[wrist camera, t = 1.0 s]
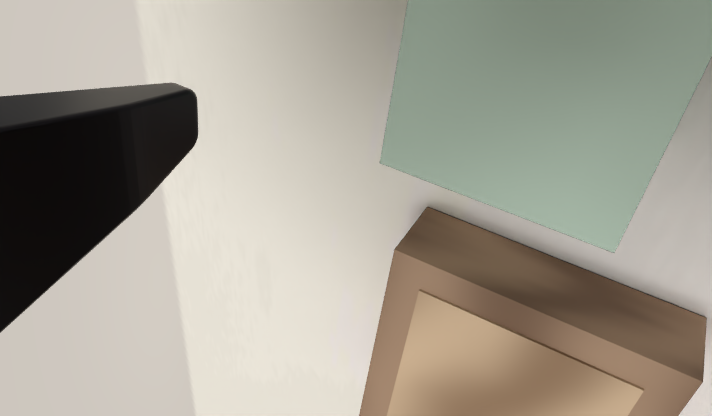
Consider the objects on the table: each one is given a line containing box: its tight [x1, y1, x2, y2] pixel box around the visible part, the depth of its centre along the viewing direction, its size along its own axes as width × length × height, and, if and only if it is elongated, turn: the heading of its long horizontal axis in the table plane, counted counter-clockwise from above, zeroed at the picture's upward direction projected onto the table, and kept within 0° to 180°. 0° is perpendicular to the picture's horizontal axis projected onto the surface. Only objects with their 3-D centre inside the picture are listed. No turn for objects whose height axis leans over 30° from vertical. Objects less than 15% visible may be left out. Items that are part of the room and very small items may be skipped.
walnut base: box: [359, 207, 707, 416], centre depth 23 cm, size 10×10×3 cm
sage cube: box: [380, 0, 712, 253], centre depth 15 cm, size 6×6×6 cm
